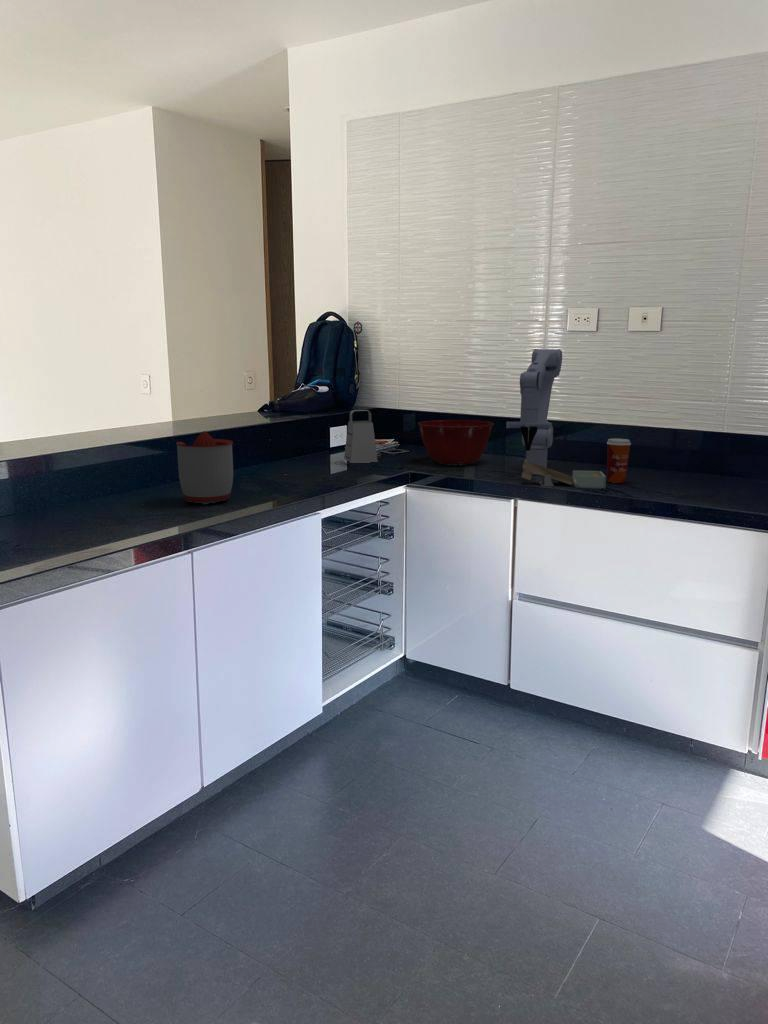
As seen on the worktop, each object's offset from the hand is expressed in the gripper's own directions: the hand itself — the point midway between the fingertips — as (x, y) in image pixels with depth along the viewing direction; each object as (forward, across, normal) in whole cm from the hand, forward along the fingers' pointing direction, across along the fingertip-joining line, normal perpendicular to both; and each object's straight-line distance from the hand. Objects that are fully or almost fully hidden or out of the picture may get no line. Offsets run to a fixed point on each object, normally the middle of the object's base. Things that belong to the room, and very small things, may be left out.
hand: (527, 450), depth 246 cm
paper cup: (+10, +29, 0) cm, 31 cm away
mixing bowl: (+10, -25, +33) cm, 43 cm away
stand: (+10, +6, -7) cm, 14 cm away
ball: (+7, +20, -7) cm, 22 cm away
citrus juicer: (+10, -93, -48) cm, 105 cm away
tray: (+10, +19, -7) cm, 23 cm away
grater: (+10, -60, +26) cm, 66 cm away
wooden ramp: (+10, +5, -4) cm, 12 cm away
